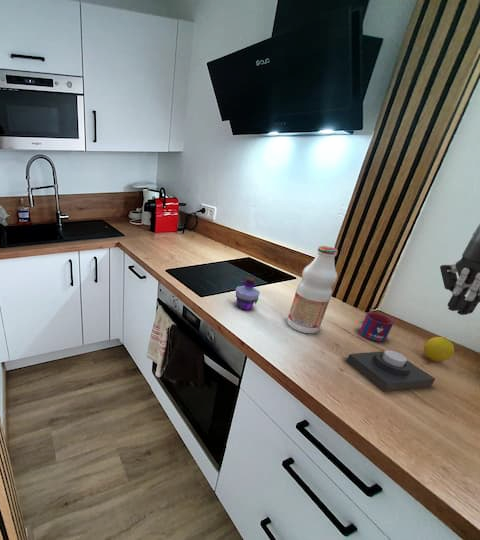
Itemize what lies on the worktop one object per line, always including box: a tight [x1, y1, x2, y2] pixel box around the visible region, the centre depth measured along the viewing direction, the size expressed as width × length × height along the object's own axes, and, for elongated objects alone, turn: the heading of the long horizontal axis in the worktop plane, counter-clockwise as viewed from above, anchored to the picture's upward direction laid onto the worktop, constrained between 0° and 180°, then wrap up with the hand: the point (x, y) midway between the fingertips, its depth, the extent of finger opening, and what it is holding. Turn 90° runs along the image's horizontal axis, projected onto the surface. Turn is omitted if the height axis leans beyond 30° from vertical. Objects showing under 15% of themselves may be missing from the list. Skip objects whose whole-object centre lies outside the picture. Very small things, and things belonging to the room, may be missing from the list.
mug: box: [358, 310, 395, 343], centre depth 93 cm, size 7×10×7 cm
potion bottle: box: [235, 276, 261, 312], centre depth 106 cm, size 9×9×12 cm
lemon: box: [423, 336, 455, 362], centre depth 81 cm, size 6×6×8 cm
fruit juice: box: [286, 245, 339, 334], centre depth 92 cm, size 9×9×28 cm
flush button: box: [382, 349, 408, 367], centre depth 75 cm, size 4×4×2 cm
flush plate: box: [346, 350, 436, 393], centre depth 76 cm, size 14×11×4 cm
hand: (457, 311), depth 67 cm, fingers closed
